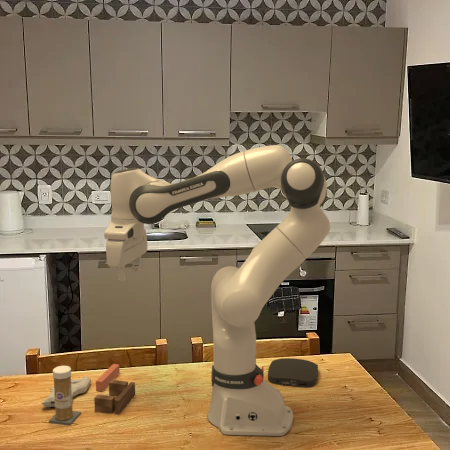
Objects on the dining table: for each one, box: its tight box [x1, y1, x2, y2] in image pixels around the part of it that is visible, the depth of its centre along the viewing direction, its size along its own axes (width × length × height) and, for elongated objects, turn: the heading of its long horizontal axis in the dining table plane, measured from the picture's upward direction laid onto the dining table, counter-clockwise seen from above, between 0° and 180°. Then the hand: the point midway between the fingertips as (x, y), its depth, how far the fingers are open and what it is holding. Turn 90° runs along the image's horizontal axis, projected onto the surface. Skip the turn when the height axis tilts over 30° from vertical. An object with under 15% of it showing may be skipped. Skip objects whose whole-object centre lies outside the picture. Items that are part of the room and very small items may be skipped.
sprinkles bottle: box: [52, 365, 73, 420], centre depth 151 cm, size 5×5×14 cm
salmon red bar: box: [95, 363, 121, 392], centre depth 173 cm, size 2×12×3 cm, turn 166°
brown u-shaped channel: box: [93, 379, 136, 416], centre depth 160 cm, size 7×11×4 cm, turn 166°
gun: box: [41, 375, 92, 408], centre depth 164 cm, size 18×3×10 cm
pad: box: [48, 410, 82, 426], centre depth 152 cm, size 6×6×1 cm
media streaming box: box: [267, 357, 319, 388], centre depth 177 cm, size 15×15×3 cm
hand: (129, 275), depth 162 cm, fingers open, 8 cm apart
